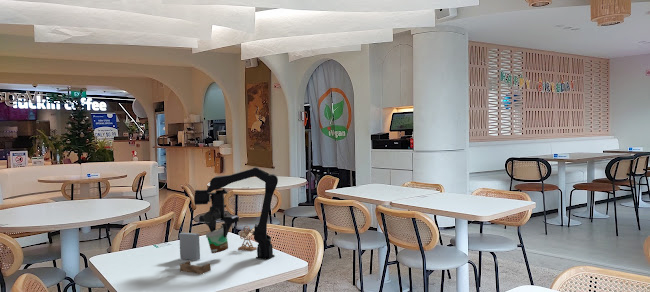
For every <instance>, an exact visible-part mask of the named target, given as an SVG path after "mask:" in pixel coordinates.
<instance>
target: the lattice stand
mask: <svg viewBox="0 0 650 292" xmlns="http://www.w3.org/2000/svg"><path fill="white" fill-rule="evenodd" d="M253 232H254V230H253V229H251V227H249V226H248V225H245V226H243V232H241V233H240V236H239V237H240V239H241V240H243V243H242V244H241V246H239V247H238V250H240V251H247V252H253V251H255V250H256V251H257V247H255V246H254V245H253V244H252V243H253V242H251V237H252V236H254V235H253ZM243 234H244V235H243ZM249 234H251V235H249ZM248 241H249V242H248Z"/></svg>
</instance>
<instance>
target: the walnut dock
mask: <svg viewBox="0 0 650 292" xmlns="http://www.w3.org/2000/svg"><path fill="white" fill-rule="evenodd" d="M211 268H212V267H211V263H209V262H207V263H206V264H203V265H194V264H191V260H188V261H186V262H185V261H184V262H182V263H180V264H179V271H180V272H181V271H182V272H183V273H190V274H197V275H204V274H206V273H208V272H211ZM203 273H204V274H203Z"/></svg>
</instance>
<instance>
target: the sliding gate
mask: <svg viewBox="0 0 650 292" xmlns="http://www.w3.org/2000/svg"><path fill="white" fill-rule="evenodd" d="M178 237H179V255H180V257H179V258H180V259H183V260H188V261H198V260H201V251H200V250H201V249H200V247H201V246H200V234H199V233H194V232H180V233H179V234H178Z"/></svg>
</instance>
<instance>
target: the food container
mask: <svg viewBox="0 0 650 292" xmlns="http://www.w3.org/2000/svg"><path fill="white" fill-rule="evenodd" d="M205 238H206V239H207V243H208V245H209V249H210V253H211V254H216V253H220V252H223V251H226V250H228V249H229V245H228V244H229V243H228V235H227V236H226V238H224V230H223V226H222V225H221V226H220V228H218V229H216V230H214V231H212V232H211V231H210V232H205Z"/></svg>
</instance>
